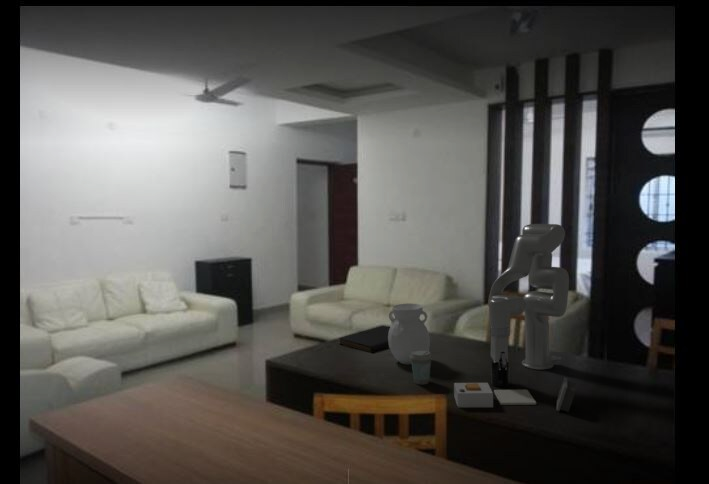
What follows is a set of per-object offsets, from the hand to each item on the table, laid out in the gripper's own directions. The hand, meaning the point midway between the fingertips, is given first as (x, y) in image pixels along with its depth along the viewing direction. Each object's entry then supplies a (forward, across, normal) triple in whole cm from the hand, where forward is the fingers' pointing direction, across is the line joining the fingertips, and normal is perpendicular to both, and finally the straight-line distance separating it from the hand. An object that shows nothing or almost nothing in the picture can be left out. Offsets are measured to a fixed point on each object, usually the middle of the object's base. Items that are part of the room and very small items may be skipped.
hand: (500, 376), depth 195 cm
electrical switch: (+3, +22, +17) cm, 28 cm away
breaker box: (+3, +17, -13) cm, 22 cm away
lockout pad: (+3, +14, +2) cm, 15 cm away
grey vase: (+3, -29, -34) cm, 45 cm away
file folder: (+4, -63, -49) cm, 80 cm away
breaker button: (+2, +17, -13) cm, 21 cm away
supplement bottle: (+3, 0, 0) cm, 3 cm away
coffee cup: (+3, -3, -30) cm, 30 cm away
